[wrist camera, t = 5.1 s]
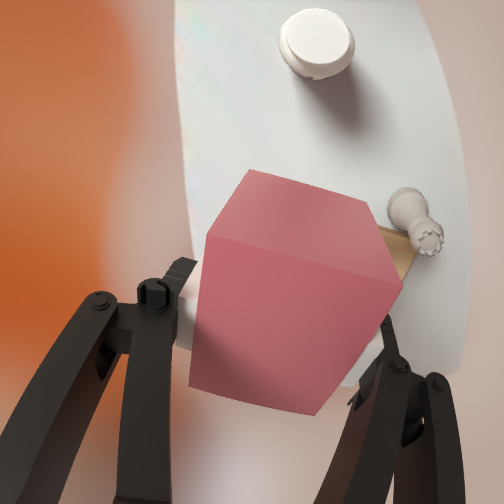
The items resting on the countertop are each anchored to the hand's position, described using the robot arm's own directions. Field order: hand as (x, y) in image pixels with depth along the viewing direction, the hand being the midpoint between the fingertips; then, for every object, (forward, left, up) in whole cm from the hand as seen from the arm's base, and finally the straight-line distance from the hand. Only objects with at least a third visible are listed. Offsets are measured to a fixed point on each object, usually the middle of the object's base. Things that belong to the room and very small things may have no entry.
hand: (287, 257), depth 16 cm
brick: (0, 0, 0) cm, 0 cm away
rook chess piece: (0, +12, -16) cm, 19 cm away
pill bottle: (-12, -1, -16) cm, 20 cm away
